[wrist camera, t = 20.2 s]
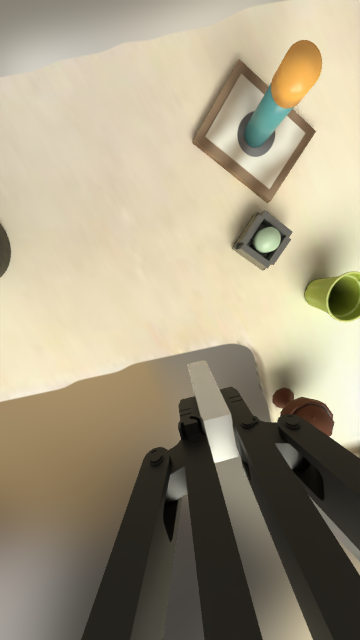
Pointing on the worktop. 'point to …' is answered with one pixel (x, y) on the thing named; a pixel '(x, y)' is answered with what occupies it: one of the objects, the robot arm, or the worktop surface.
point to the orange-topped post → (284, 91)
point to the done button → (266, 240)
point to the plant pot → (336, 296)
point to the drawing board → (229, 143)
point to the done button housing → (253, 226)
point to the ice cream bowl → (305, 410)
